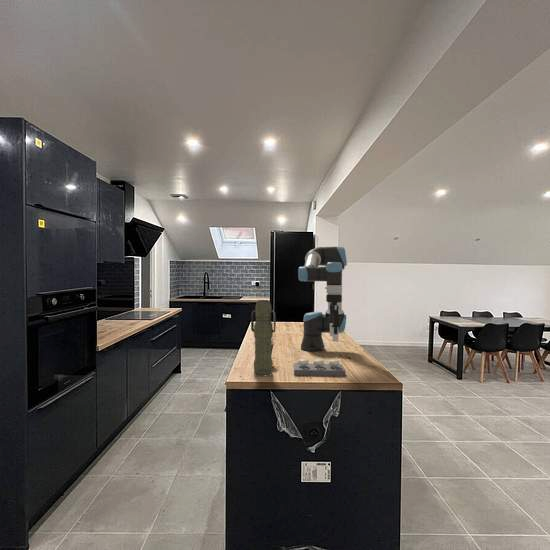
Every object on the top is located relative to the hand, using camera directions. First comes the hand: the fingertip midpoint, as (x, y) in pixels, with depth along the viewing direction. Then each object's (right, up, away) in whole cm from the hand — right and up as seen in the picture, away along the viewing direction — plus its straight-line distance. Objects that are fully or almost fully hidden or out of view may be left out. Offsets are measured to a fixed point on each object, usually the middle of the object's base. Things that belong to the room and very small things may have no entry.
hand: (333, 338), depth 174 cm
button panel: (-7, -16, 0) cm, 18 cm away
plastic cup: (-34, -16, +15) cm, 41 cm away
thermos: (-34, -17, -2) cm, 38 cm away
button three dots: (-7, -15, 0) cm, 16 cm away
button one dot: (0, -15, 0) cm, 15 cm away
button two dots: (-15, -15, +1) cm, 21 cm away
